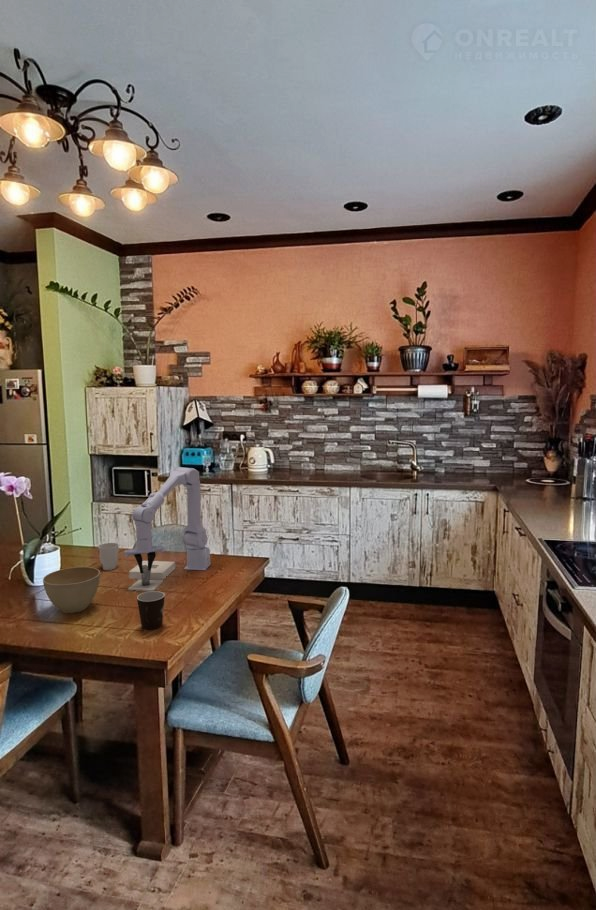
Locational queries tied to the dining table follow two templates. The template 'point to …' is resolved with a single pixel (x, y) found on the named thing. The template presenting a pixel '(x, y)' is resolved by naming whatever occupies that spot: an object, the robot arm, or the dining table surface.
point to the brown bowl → (72, 588)
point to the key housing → (154, 570)
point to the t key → (145, 576)
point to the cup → (108, 555)
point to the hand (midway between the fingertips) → (145, 572)
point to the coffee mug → (151, 609)
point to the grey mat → (139, 587)
